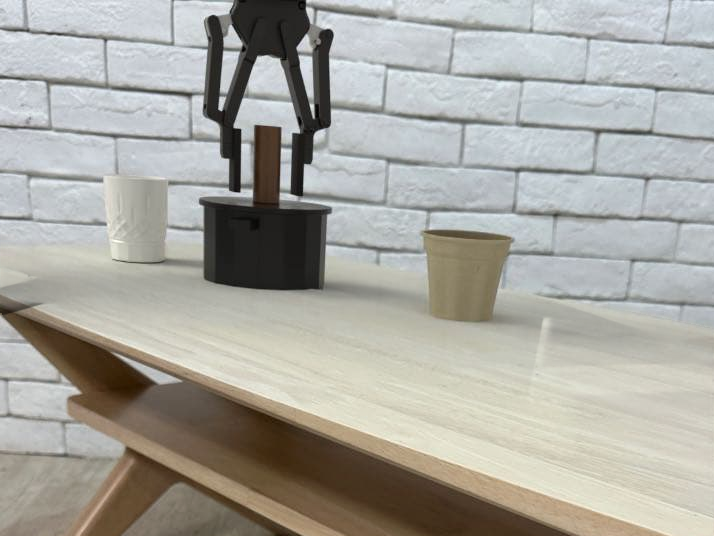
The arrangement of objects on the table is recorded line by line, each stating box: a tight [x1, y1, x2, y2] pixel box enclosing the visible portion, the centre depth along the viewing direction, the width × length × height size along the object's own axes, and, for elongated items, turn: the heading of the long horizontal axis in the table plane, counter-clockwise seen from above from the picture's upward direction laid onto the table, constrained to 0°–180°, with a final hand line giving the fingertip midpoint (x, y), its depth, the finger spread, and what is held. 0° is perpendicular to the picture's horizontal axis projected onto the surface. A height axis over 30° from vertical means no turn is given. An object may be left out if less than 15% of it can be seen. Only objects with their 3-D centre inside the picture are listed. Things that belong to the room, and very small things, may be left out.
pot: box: [202, 206, 328, 291], centre depth 113 cm, size 14×19×8 cm
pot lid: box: [198, 124, 333, 216], centre depth 110 cm, size 15×15×9 cm
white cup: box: [102, 173, 169, 264], centre depth 126 cm, size 8×8×10 cm
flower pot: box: [419, 228, 516, 323], centre depth 100 cm, size 9×9×9 cm
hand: (266, 193), depth 111 cm, fingers open, 6 cm apart
